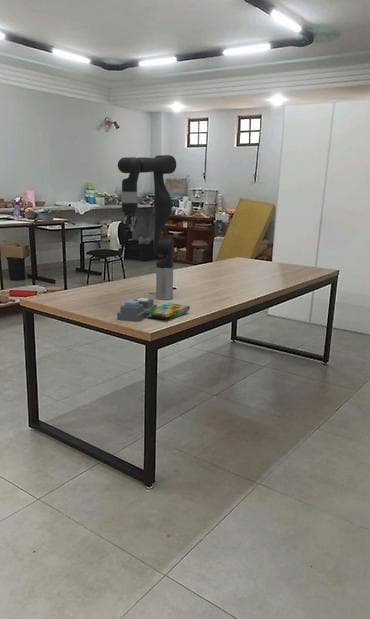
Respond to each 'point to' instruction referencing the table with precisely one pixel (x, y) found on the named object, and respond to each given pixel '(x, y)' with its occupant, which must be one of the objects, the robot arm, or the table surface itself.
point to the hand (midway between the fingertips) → (130, 238)
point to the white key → (142, 299)
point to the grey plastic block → (136, 311)
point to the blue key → (132, 304)
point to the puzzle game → (168, 311)
